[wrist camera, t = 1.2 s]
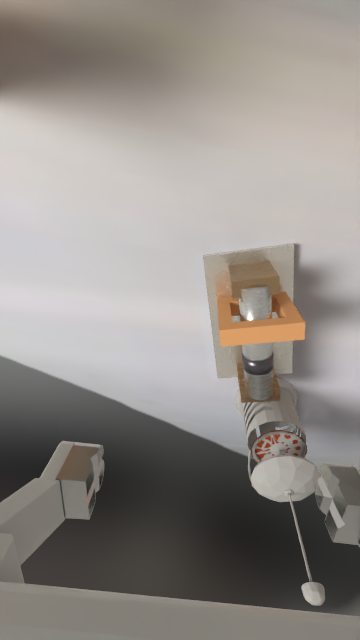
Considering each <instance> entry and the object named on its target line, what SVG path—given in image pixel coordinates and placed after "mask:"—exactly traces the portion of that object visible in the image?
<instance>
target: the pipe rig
mask: <svg viewBox="0 0 360 640" xmlns="http://www.w3.org/2000/svg"><path fill="white" fill-rule="evenodd" d="M203 260H204V269H205V277H206V285H207V293H208V302H209V310H210V318H211V326H212V334H213V343H214V351H215V359H216V367H217V376H218V378H229V377H238V382H239V390H240V397H241V403H249V402H267V401H280V386H279V383H278V380H277V377H276V374H288V373H292V360H293V341H283V342H271V343H259V344H247V345H235V346H223V347H221V344H220V335H219V322H218V305H217V299H220V298H230V297H233V299H235V298H239V310H240V316H232V322H243V321H253V320H263V319H274V318H278V315H277V313H276V312H272V294H280V292H285V291H286V293H287V295H288V296H289V298H290V299H291V301H292V302H293V294H294V244H286V245H278V246H270V247H263V248H255V249H247V250H240V251H232V252H225V253H217V254H209V255H203Z"/></svg>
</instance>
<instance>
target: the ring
mask: <svg viewBox="0 0 360 640" xmlns="http://www.w3.org/2000/svg"><path fill="white" fill-rule="evenodd" d="M217 305H218V322H219V335H220V344H221V347H223V346H235V345H247V344H259V343H271V342H283V341H295V340H305V321H304V319H303V318H302V316H301V315H300V313H299V312H298V310H297V309H296V307H295V305H294V304H293V302H292V301H291V299H290V298H289V296H288V295H287V293H286V291H285V292H280V294H272V312H276V313H277V315H278V318H274V319H263V320H253V321H243V322H232V316H240V310H239V298H235V299H233V297H230V298H220V299H217Z"/></svg>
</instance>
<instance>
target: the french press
mask: <svg viewBox="0 0 360 640" xmlns="http://www.w3.org/2000/svg"><path fill="white" fill-rule="evenodd" d="M277 380H278V383H279V386H280V401H267V402H249V403H241V397H240V390H238V392H237V395H236V398H235V401H236V406H237V409H238V410H239V412H240V413H241V414H242V415H243V416H244V421H245V427H246V434H247V443H248V447H249V449H250V451H249V457H248V471H249V476H250V480H251V482H252V486H253V487H254V488H255V489H256V491H257V492H258V493H259V494H260V495H263V496H264V497H266V498H268V499H271V500H275V501H278V502H287V501H290V503H291V507H292V511H293V515H294V519H295V523H296V527H297V532H298V536H299V540H300V544H301V548H302V551H303V556H304V560H305V564H306V568H307V572H308V576H309V580H310V582H308V583H305V584H303V585H302V591H303V595H304V597H305V599H306V600H307V601H308V602H309V603H311V604H312V605H322V603H323V602H324V600H325V591H324V587H323V585H321V584H319V583H315V582H312V578H311V574H310V570H309V566H308V563H307V559H306V555H305V551H304V547H303V543H302V539H301V535H300V531H299V527H298V523H297V519H296V515H295V511H294V507H293V503H292V501H300V500H302V499H304V498H306V497H307V496H309V495H310V494H312V493H313V492H315V485H316V481H317V479H319V478H320V477H321V473H320V472H319V470H318V469H317V467H316V466H315V465H314V464H313V463H312V462H310V461H308V460H307V459H305V458H304V457H305V455H306V453H307V446H306V435H305V433H304V430H303V427H302V424H301V422H300V419H299V416H298V414H297V411H296V408H295V406H296V404H297V402H298V400H297V392H296V390H295V389H294V387H293V386H292V384H291V383H289V382H287V381H286V380H284V379H282V378H279V377H277ZM294 409H295V410H294ZM298 419H299V420H298ZM289 423H292V424H291V425H290V427H289V428H286V429H283V430H276V429H275V427H283V426H286V425H288V424H289ZM295 425H296V428H295V429H294V431H293V432H289V431H290V430H291V429H292V428H293V427H294V426H295ZM257 426H259V428H260V433H261V435H260V436H259V437H258V438H257V435H256V429H255V428H256V427H257ZM298 427H299V429H298V435H296V432H297V428H298ZM300 429H301V430H302V432H301V437H300ZM251 454H252V457H253V458H254V460H255V461H256V462H257V463H258V465H256V467H255V469H254V471H253V473H252V475H251V474H250V455H251Z"/></svg>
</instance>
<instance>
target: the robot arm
mask: <svg viewBox="0 0 360 640" xmlns="http://www.w3.org/2000/svg"><path fill="white" fill-rule="evenodd" d="M102 455H103V446H102V445H96V444H87V443H78V442H67V441H62V442H61V443H60V444H59V445H58V447H57V449H56V451H55V452H54V454H53V456H52V458H51V459H50V461H49V463H48V465H47V466H46V468H45V470H44V472H43V474H42V475H41V477H40V478H35V479H34V480H32V481H31V482H29V483H28V484H27V485H25V486H24V487H22V488H21V489H19V490H18V491H17V492H15V493H14V494H12V495H11V496H9V497H8V498H7V499H5V500H4V501H2V502H1V503H0V640H360V617H358V616H348V615H337V614H327V613H318V612H307V611H297V610H287V609H277V608H266V607H257V606H247V605H237V604H226V603H215V602H206V601H196V600H185V599H175V598H165V597H153V596H145V595H134V594H124V593H114V592H103V591H93V590H84V589H73V588H63V587H53V586H43V585H32V584H24V580H23V576H22V571H21V567H20V565H21V564H22V563H23V562H24V561H25V560H26V559H27V558H28V557H29V556H30V555H31V554H32V553H33V552H34V551H35V550H36V549H37V548H38V547H39V545H41V544H42V543H43V542H44V540H45V539H46V538H47V537H48V536H49V535H50V534H51V533H52V532H53V531H54V530H55V529H56V528H57V527H58V526H59V525H60V524H61V523H62V522H63V521H64V520H65V518H74V519H90V516H91V513H92V510H93V507H94V504H95V501H96V500H95V493H96V492H97V491H98V490H99V489H100V486H101V483H102V479H103V474H104V461H103V460H102V459H101V458H102ZM320 473H321V475H322V477H320V478H319V479H317V481H316V485H315V496H316V501H317V504H318V506H319V508H320V510H321V511H322V512H323V513H324V514H325V515H326V519H325V524H326V526H327V529H328V531H329V534H330V536H331V538H332V541H333V542H338V543H346V544H354V545H359V547H360V466H350V465H336V464H323V465H322V466H321V469H320Z"/></svg>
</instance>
